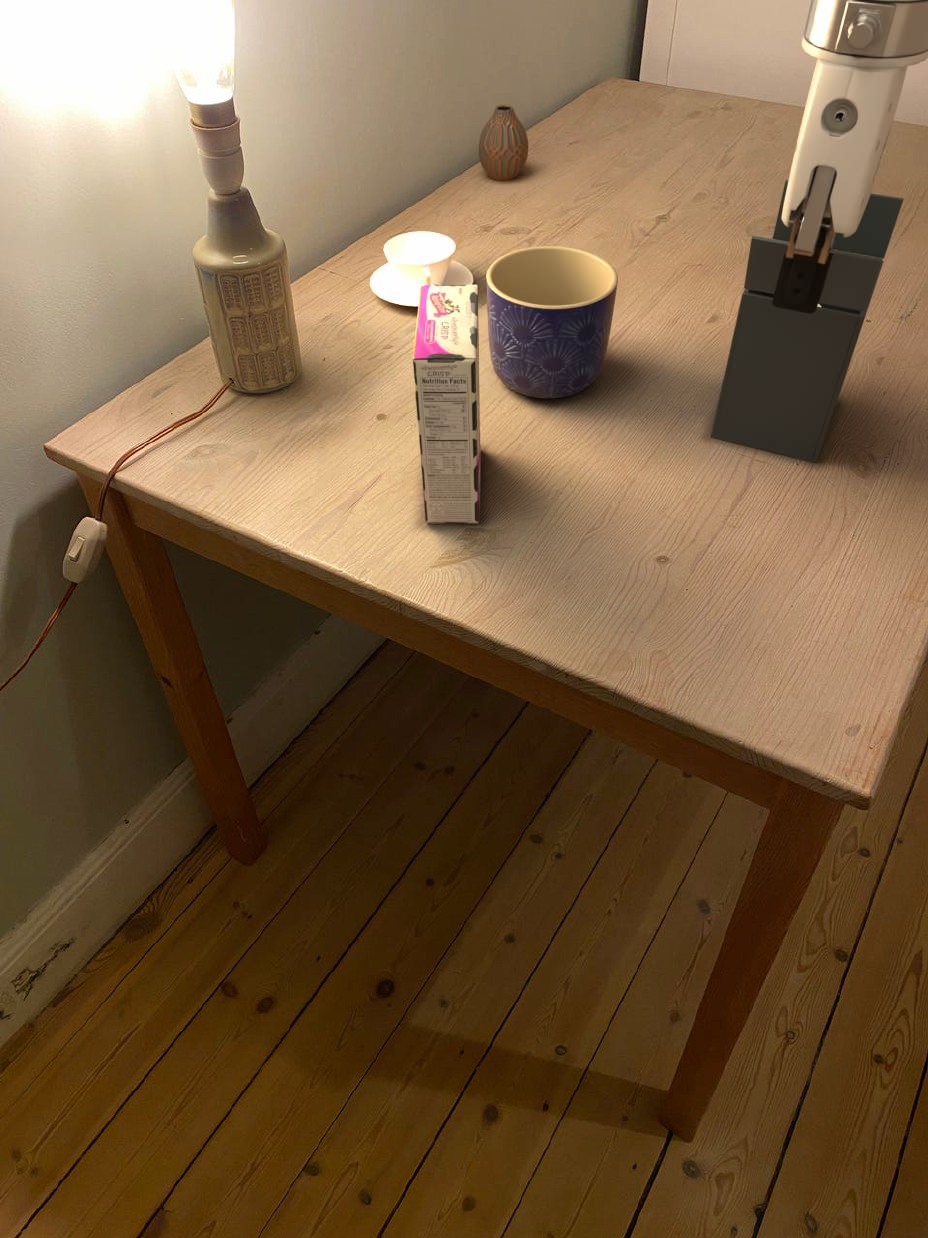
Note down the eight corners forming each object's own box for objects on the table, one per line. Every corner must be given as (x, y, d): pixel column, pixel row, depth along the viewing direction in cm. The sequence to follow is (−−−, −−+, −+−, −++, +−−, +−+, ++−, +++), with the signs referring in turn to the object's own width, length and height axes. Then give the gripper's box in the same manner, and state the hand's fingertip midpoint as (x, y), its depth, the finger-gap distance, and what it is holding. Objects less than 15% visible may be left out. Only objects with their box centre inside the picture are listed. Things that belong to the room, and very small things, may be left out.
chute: (816, 463, 83) (885, 253, 69) (710, 437, 86) (755, 231, 72) (838, 398, 90) (905, 196, 76) (739, 376, 93) (786, 177, 79)
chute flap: (866, 309, 72) (865, 311, 72) (744, 285, 75) (743, 288, 75) (882, 258, 68) (881, 261, 68) (752, 235, 71) (751, 238, 70)
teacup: (390, 325, 101) (386, 279, 97) (357, 278, 109) (353, 234, 105) (489, 304, 104) (489, 259, 100) (451, 259, 112) (450, 216, 108)
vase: (491, 162, 133) (492, 95, 126) (535, 169, 130) (537, 102, 124) (470, 179, 129) (469, 111, 122) (515, 187, 126) (516, 119, 120)
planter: (523, 424, 88) (527, 319, 80) (465, 363, 96) (463, 262, 88) (630, 390, 92) (644, 287, 84) (566, 334, 99) (573, 234, 91)
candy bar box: (427, 448, 86) (418, 282, 74) (481, 448, 86) (480, 281, 74) (421, 526, 78) (410, 355, 66) (479, 526, 78) (479, 355, 66)
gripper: (922, 66, 49) (827, 366, 63) (949, -3, 58) (861, 271, 72) (782, 50, 52) (720, 342, 65) (830, -15, 61) (766, 254, 74)
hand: (794, 304), depth 68 cm, fingers closed
